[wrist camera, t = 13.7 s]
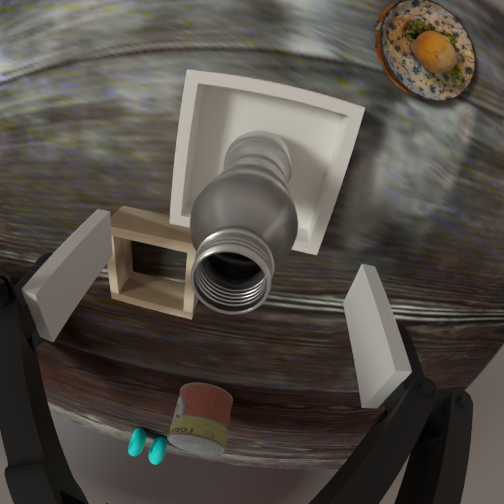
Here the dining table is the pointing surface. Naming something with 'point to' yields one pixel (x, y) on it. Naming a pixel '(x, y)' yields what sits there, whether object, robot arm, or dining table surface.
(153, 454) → the turquoise yo-yo
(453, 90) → the patterned ceramic bowl
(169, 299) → the wooden collar
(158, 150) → the dining table surface
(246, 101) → the plastic tray
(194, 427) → the canned food
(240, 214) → the plastic bottle
